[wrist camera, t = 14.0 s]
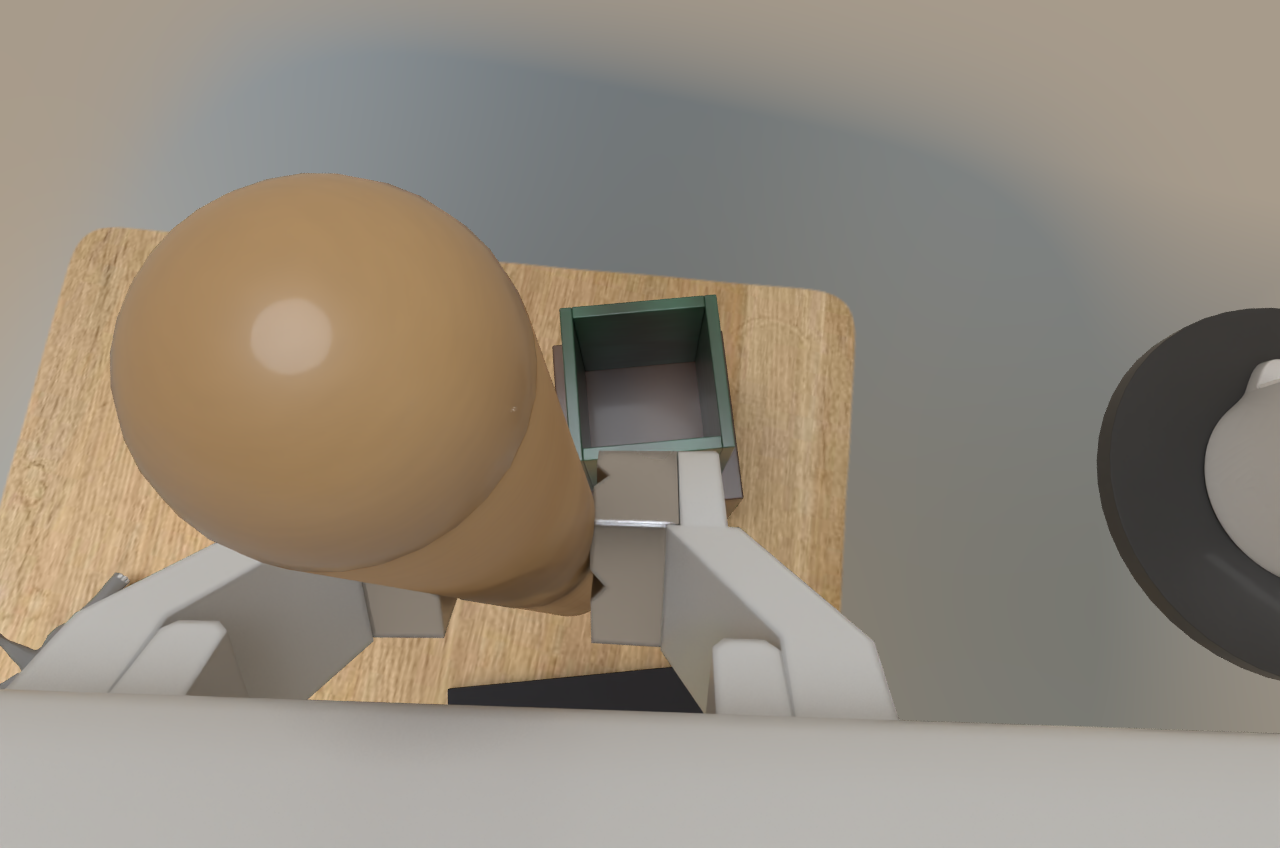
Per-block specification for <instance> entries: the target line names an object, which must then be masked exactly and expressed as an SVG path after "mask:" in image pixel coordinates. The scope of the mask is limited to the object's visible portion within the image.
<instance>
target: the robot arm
mask: <svg viewBox="0 0 1280 848" xmlns="http://www.w3.org/2000/svg"><path fill="white" fill-rule="evenodd" d="M1204 472H1205V482H1206V488H1207V492H1208V496H1209V499H1210V502H1211V505H1212V507H1213V510H1214V512H1215V514H1216V516H1217V518H1218V520H1219V522H1220V524H1221V525H1222V527H1223V528H1224V530H1225V531H1226V533H1227V534H1228V535H1229V537H1230V538H1231V539H1232V540H1233V542H1234V543H1235V544H1236V545H1237V546H1238V547H1239V548H1240V549H1241V550H1242V551H1243V552H1244V553H1245V554H1246V555H1247V556H1248V557H1249V558H1250V559H1252V560H1253V561H1254V562H1255V563H1257V564H1258V565H1260V566H1261V567H1262V568H1264V569H1266V570H1267V571H1269V572H1271V573H1272V574H1274V575H1276V576H1278V577H1280V359H1274V360H1270V361H1267V362H1263V363H1260V364H1259V365H1257V366H1256V368H1255V369H1254V370H1253V372H1252V374H1251V377H1250V379H1249V382H1248V385H1247V388H1246V391H1245V394H1244V395H1243V396H1242V398H1241V399H1240V400H1239V401H1238V402H1237V403H1236V404H1235V405H1234V406H1233V407H1232V408H1230V409H1229V410H1228V411H1227V412H1226V413H1225V414H1224V415H1223V416H1222V418H1221V419H1220V420H1219V422H1218V423H1217V425H1216V426H1215V428H1214V430H1213V432H1212V434H1211V436H1210V439H1209V442H1208V445H1207V449H1206V454H1205V464H1204ZM593 500H594V506H595V519H594V533H593V538H592V544H591V547H590V570H591V571H592V572H593V581H592V590H591V600H590V604H591V643H602V644H618V645H635V646H651V647H661V651H662V653H663V654H664V656H665V657H666V659H667V660H668V662H669V663H670V665H671V666H672V667H673V669H674V670H675V672H676V673H677V675H678V676H679V678H680V679H681V681H682V682H683V684H684V685H685V686H686V688H687V689H688V691H689V692H690V694H691V695H692V697H693V698H694V700H695V701H696V703H697V704H698V705H699V707H700V708H701V710H702V711H703V713H677V712H648V711H620V710H591V709H563V708H534V707H503V706H473V705H442V704H413V703H385V702H356V701H328V700H307V699H308V698H310V697H311V696H312V695H313V694H314V693H315V692H316V691H318V690H319V689H320V688H321V687H322V686H323V685H324V684H325V683H327V682H328V681H329V680H330V679H331V678H332V677H333V676H334V675H336V674H337V673H338V672H339V671H340V670H341V669H342V668H344V667H345V666H346V665H347V664H348V663H349V662H350V661H351V660H353V659H354V658H355V657H356V656H357V655H358V654H359V653H361V652H362V651H363V650H364V649H365V648H366V647H367V646H368V645H370V644H371V643H372V642H373V637H400V638H444V636H445V633H446V630H447V627H448V624H449V621H450V618H451V615H452V612H453V609H454V606H455V603H456V600H457V598H454V597H448V596H442V595H436V594H430V593H424V592H418V591H412V590H407V589H401V588H395V587H389V586H383V585H377V584H371V583H365V582H359V581H353V580H347V579H341V578H335V577H330V576H324V575H318V574H312V573H306V572H300V571H294V570H288V569H284V568H280V567H276V566H272V565H269V564H265V563H262V562H259V561H257V560H254V559H252V558H249V557H247V556H245V555H242V554H240V553H238V552H236V551H234V550H231V549H229V548H227V547H225V546H223V545H220V544H218V543H214V544H212V545H210V546H208V547H206V548H204V549H202V550H200V551H198V552H196V553H194V554H192V555H190V556H188V557H186V558H184V559H182V560H180V561H178V562H176V563H174V564H172V565H170V566H168V567H166V568H164V569H162V570H160V571H158V572H156V573H154V574H152V575H150V576H148V577H146V578H144V579H142V580H140V581H138V582H136V583H134V584H132V585H130V586H128V587H126V588H124V589H122V590H120V591H118V592H116V593H114V594H112V595H110V596H108V597H106V598H104V599H102V600H100V601H98V602H96V603H94V604H92V605H90V606H88V607H86V608H84V609H82V610H80V611H78V612H76V613H75V614H74V615H73V616H72V617H71V618H70V619H69V620H68V621H67V622H66V623H65V624H64V626H63V627H62V628H61V629H60V630H59V631H58V632H57V633H56V634H55V635H54V636H53V637H52V639H51V640H50V641H49V642H48V643H47V644H46V645H45V646H44V647H43V648H42V649H41V650H40V652H39V653H38V654H37V655H36V656H35V657H34V658H33V659H32V660H31V661H30V662H29V664H28V665H27V666H26V667H25V668H24V669H23V670H22V671H21V672H20V673H19V674H18V675H17V677H16V678H15V679H14V680H13V681H12V682H11V683H10V684H9V685H8V686H7V687H6V688H5V689H0V848H1280V733H1254V732H1225V731H1197V730H1167V729H1140V728H1139V729H1138V728H1111V727H1109V728H1108V727H1082V726H1079V727H1078V726H1054V725H1053V726H1052V725H1024V724H996V723H995V724H994V723H967V722H966V723H965V722H936V721H905V720H899V717H898V714H897V711H896V708H895V705H894V702H893V699H892V696H891V692H890V689H889V686H888V683H887V680H886V677H885V674H884V670H883V667H882V664H881V661H880V658H879V655H878V652H877V649H876V645H875V642H874V641H873V640H872V639H871V638H870V637H869V636H867V635H866V634H865V633H864V632H863V631H861V630H860V629H859V628H858V627H857V626H855V625H854V624H853V623H852V622H851V621H850V620H848V619H847V618H846V617H845V616H844V615H842V614H841V613H840V612H839V611H838V610H837V609H835V608H834V607H833V606H832V605H831V604H829V603H828V602H827V601H826V600H825V599H824V598H822V597H821V596H820V595H819V594H818V593H816V592H815V591H814V590H813V589H812V588H810V587H809V586H808V585H807V584H806V583H805V582H803V581H802V580H801V579H800V578H799V577H797V576H796V575H795V574H794V573H793V572H792V571H790V570H789V569H788V568H787V567H786V566H784V565H783V564H782V563H781V562H780V561H779V560H777V559H776V558H775V557H774V556H773V555H771V554H770V553H769V552H768V551H767V550H765V549H764V548H763V547H762V546H761V545H760V544H758V543H757V542H756V541H755V540H754V539H752V538H751V537H750V536H749V535H748V534H747V533H745V532H744V531H743V530H742V529H741V528H739V527H728V523H727V515H726V507H725V499H724V491H723V483H722V475H721V467H720V459H719V454H718V453H717V452H716V451H678V453H677V451H599V454H598V461H597V484H596V485H595V486H594V491H593Z"/></svg>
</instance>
